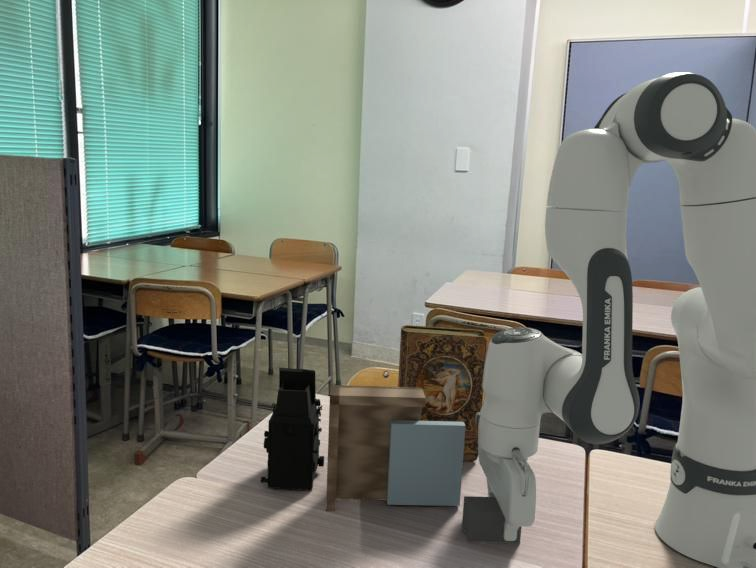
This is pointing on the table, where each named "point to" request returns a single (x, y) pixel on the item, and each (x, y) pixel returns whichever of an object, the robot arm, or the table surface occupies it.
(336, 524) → the table surface
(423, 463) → the door panel
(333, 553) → the table surface
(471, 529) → the block
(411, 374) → the book
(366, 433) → the open wooden box
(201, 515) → the table surface
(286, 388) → the camera
